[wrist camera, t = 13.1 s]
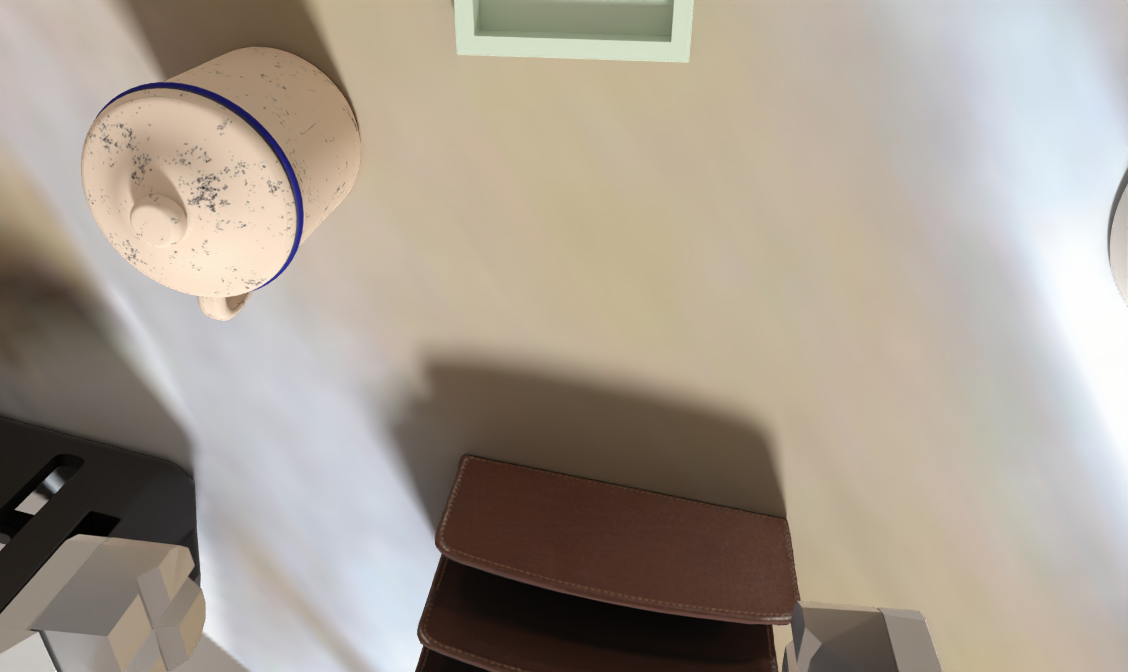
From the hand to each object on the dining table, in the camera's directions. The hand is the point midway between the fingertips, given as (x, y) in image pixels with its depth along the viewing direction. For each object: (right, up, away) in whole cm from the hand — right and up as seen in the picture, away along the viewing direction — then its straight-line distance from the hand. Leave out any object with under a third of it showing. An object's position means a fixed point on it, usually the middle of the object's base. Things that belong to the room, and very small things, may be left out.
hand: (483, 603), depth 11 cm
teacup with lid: (-13, +12, +31) cm, 36 cm away
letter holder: (+4, -9, +42) cm, 43 cm away
